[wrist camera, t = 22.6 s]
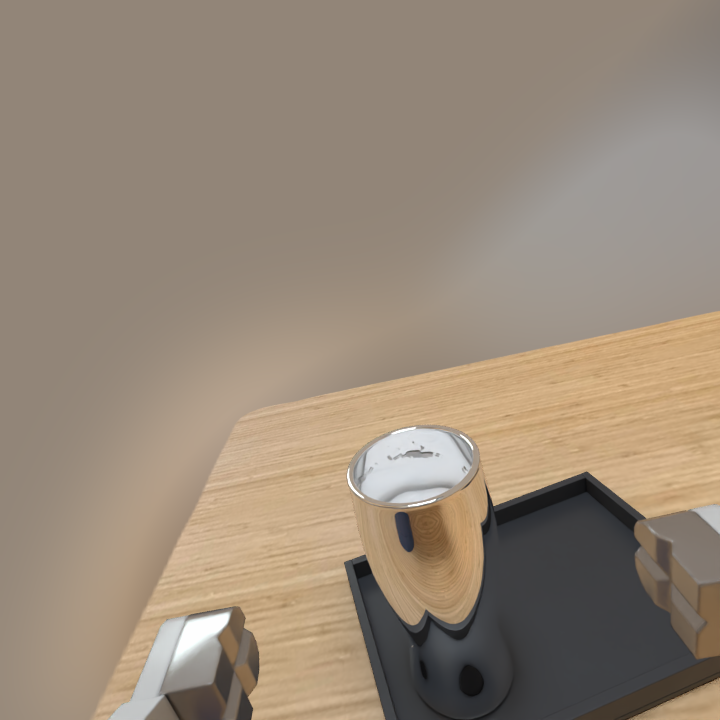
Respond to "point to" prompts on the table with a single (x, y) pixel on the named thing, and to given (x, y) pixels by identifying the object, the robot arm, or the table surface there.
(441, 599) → the silver goblet
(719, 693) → the table surface
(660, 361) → the table surface
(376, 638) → the tray
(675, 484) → the table surface
